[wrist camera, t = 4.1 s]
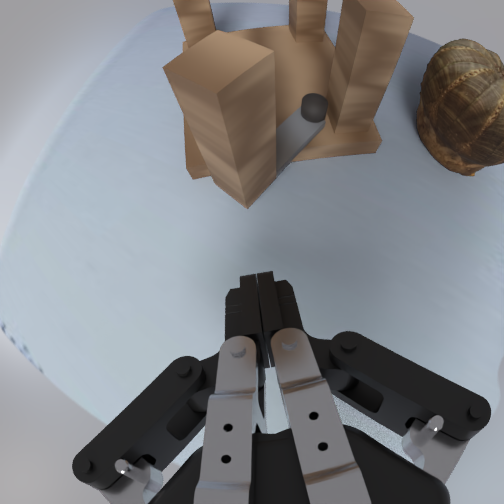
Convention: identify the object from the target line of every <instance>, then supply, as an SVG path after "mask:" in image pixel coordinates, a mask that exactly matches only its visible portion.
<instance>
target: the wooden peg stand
mask: <svg viewBox="0 0 504 504" xmlns="http://www.w3.org/2000/svg"><path fill="white" fill-rule="evenodd" d="M173 2H174V5H175V8H176V11H177V14H178V17H179V20H180V24H181V27H182V30H183V33H184V36H185V39H186V41H185V42H183V52H184V51H186V50H187V49H189V48H190V47H192V46H193V45H194V44H196V43H197V42H199V41H201V40H202V39H204V38H205V37H207V36H208V35H210V34H212V33H213V32H215V31H216V27H215V23H214V18H213V14H212V9H211V5H210V1H209V0H173ZM326 10H327V0H289V25H285V26H273V27H263V28H254V29H246V30H239V31H233V32H227V33H229V34H232V35H235V36H237V37H240V38H243V39H246V40H248V41H251V42H254V43H256V44H259V45H261V46H264V47H266V48H268V49H271V50H273V51H274V59H275V100H276V129H277V128H278V127H279V126H280V125H281V124H282V123H283V122H284V121H285V120H286V119H287V118H288V117H289V116H291V115H292V114H293V113H294V112H295V111H296V110H297V109H298V108H299V107H300V106H301V104H302V98H303V97H304V96H305V95H306V94H309V93H317V94H320V95H322V96H324V97H325V98H326V99H327V101H328V108H327V113H326V117H325V121H326V123H325V127H324V128H323V129H322V130H321V131H320V132H319V133H318V134H317V135H316V136H315V137H314V138H313V139H312V140H311V141H310V142H309V143H308V145H307V146H306V147H305V148H304V149H303V150H302V151H301V152H300V153H299V154H298V155H297V156H296V157H295V158H294V159H293V160H292V161H291V162H295V161H302V160H310V159H318V158H326V157H335V156H345V155H356V154H367V153H376V151H377V149H378V147H379V145H380V144H381V142H382V139H381V137H380V135H379V132H378V130H377V128H376V125H375V123H374V121H373V119H374V116H375V114H376V112H377V110H378V107H379V105H380V103H381V100H382V98H383V96H384V93H385V91H386V89H387V86H388V84H389V81H390V79H391V77H392V74H393V72H394V69H395V67H396V64H397V62H398V59H399V57H400V54H401V52H402V49H403V46H404V44H405V41H406V38H407V36H408V33H409V30H410V28H411V25H412V22H413V19H414V17H413V16H412V15H411V14H410V13H409V12H408V11H407V10H406V9H405V8H404V7H403V6H402V5H401V4H400V3H399V2H397V1H396V0H343V3H342V9H341V16H340V22H339V28H338V35H337V40H336V46H335V47H334V45H333V44H332V42H331V40H330V39H329V37H328V36H327V34H326V32H325V31H324V27H325V19H326ZM184 136H185V155H186V169H187V170H188V172H189V174H190V175H191V177H192V179H198V178H202V177H207V176H211V174H210V172H209V170H208V167H207V165H206V163H205V161H204V159H203V156H202V154H201V152H200V150H199V147H198V145H197V143H196V141H195V139H194V136H193V134H192V132H191V130H190V127H189V125H188V123H187V121H186V119H185V116H184Z"/></svg>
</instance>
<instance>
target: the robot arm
mask: <svg viewBox="0 0 504 504" xmlns="http://www.w3.org/2000/svg"><path fill="white" fill-rule="evenodd" d="M257 280H258V283H257ZM225 306H226V308H225V314H226V315H225V342H224V343H223V344H222V346H221V348H220V351H219V352H218V353H217V354H215V355H214V356H211V357H209V358H207V359H204V360H201V361H199V360H198V359H196V358H194V357H191V356H184V357H180V358H178V359H176V360H174V361H173V362H172V363H171V364H170V365H169V366H168V367H167V368H166V369H165V370H164V371H163V372H162V373H161V374H160V375H159V376H158V377H157V378H156V379H155V380H154V381H153V382H152V383H151V384H150V385H149V386H148V387H147V388H146V389H145V390H144V391H143V392H142V393H141V394H140V395H138V396H137V397H136V398H135V399H134V400H133V401H132V402H131V403H130V404H129V405H128V406H127V407H126V408H125V409H124V410H123V411H122V412H121V413H120V414H119V415H118V416H117V417H116V418H115V419H114V420H113V421H112V422H111V423H110V424H108V425H107V426H106V427H105V428H104V429H103V430H102V431H101V432H100V433H99V434H98V435H97V436H96V437H95V438H94V439H93V440H92V441H91V442H90V443H89V444H87V445H86V446H85V447H84V448H83V449H82V450H81V451H80V452H79V453H78V454H77V455H76V456H75V458H74V460H73V464H72V469H73V473H74V475H75V476H76V478H77V479H78V480H80V481H81V482H83V483H86V484H88V485H90V486H92V487H93V488H95V489H97V490H99V491H100V492H101V493H102V494H103V496H104V497H105V498H106V499H107V500H108V501H109V502H110V504H450V495H449V492H448V489H447V487H446V486H445V483H446V481H447V480H448V478H449V476H450V475H451V473H452V471H453V470H454V468H455V466H456V464H457V463H458V461H459V459H460V457H461V455H462V454H463V452H464V450H465V448H466V446H467V444H468V442H469V440H470V439H471V438H472V437H473V436H475V435H476V434H477V433H478V432H479V431H480V430H482V428H484V427H485V426H486V425H487V424H488V422H489V420H490V417H491V408H490V405H489V403H488V401H487V400H486V399H485V398H484V397H482V396H480V395H478V394H476V393H474V392H472V391H470V390H468V389H466V388H464V387H462V386H460V385H458V384H456V383H454V382H452V381H450V380H448V379H446V378H444V377H442V376H440V375H438V374H436V373H434V372H432V371H430V370H428V369H426V368H424V367H422V366H420V365H418V364H416V363H414V362H412V361H410V360H408V359H406V358H404V357H402V356H400V355H399V354H397V353H395V352H393V351H391V350H389V349H387V348H385V347H383V346H381V345H379V344H377V343H376V342H374V341H372V340H370V339H368V338H366V337H364V336H362V335H360V334H358V333H356V332H351V331H346V332H341V333H339V334H337V335H336V336H334V337H333V339H332V340H324V339H317V338H314V337H311V336H310V335H308V334H307V333H306V332H305V330H304V328H303V325H302V321H301V318H300V314H299V310H298V306H297V303H296V298H295V295H294V291H293V287H292V286H291V285H290V284H289V283H288V282H287V281H286V280H282V281H276V282H275V281H274V276H273V271H269V272H263V273H257V278H256V274H252V275H246V276H240V288H235V289H230V291H229V292H228V294H227V296H226V302H225ZM268 354H269V357H268ZM269 358H270V363H271V367H275V368H276V373H277V379H278V384H279V388H280V392H281V396H282V400H283V405H284V409H285V413H286V417H287V422H288V426H289V429H286V430H284V431H281V432H279V433H276V434H268V431H267V424H266V383H265V380H266V377H265V368H270V365H269ZM331 393H332V394H333V395H335V396H336V397H338V398H339V399H341V400H343V401H344V402H346V403H347V404H349V405H350V406H352V407H354V408H355V409H357V410H358V411H360V412H362V413H363V414H365V415H366V416H368V417H370V418H371V419H373V420H375V421H376V422H378V423H380V424H381V425H383V426H385V427H386V428H388V429H390V430H392V431H393V432H395V433H397V434H398V435H400V436H402V437H403V438H402V449H403V451H404V452H405V454H407V455H408V456H409V457H410V458H411V459H412V460H413V462H414V464H412V463H411V462H409V461H407V460H406V459H404V458H403V457H401V456H399V455H398V454H396V453H395V452H393V451H391V450H390V449H388V448H387V447H385V446H384V445H382V444H381V443H379V442H378V441H376V440H374V439H373V438H371V437H370V436H369V435H367V434H366V433H364V432H362V431H361V430H359V429H357V428H354V427H351V426H348V425H344V424H342V422H341V419H340V416H339V413H338V410H337V408H336V405H335V402H334V399H333V396H332V394H331ZM204 426H205V433H204V442H203V446H202V447H200V448H199V449H197V450H196V451H195V452H194V453H193V454H192V455H191V456H190V457H189V458H188V459H187V461H186V462H185V463H184V464H183V465H182V466H181V467H180V469H179V470H178V471H177V472H176V473H175V474H174V475H173V477H172V478H171V479H170V480H169V481H168V482H167V483H166V484H165V486H163V488H162V489H161V487H162V485H163V475H162V471H163V470H164V469H165V468H166V467H167V466H168V465H169V464H170V463H171V462H172V461H173V460H174V459H175V457H176V456H177V455H178V454H179V453H180V452H181V451H182V450H183V449H184V448H185V447H186V446H187V445H188V444H189V442H190V441H191V440H192V439H193V438H194V437H195V436H196V435H197V434H198V433H199V431H200V430H201V429H202V428H203V427H204ZM160 489H161V490H160ZM159 490H160V491H159ZM158 491H159V492H158Z"/></svg>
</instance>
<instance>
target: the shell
mask: <svg viewBox="0 0 504 504" xmlns="http://www.w3.org/2000/svg"><path fill="white" fill-rule="evenodd" d="M417 129H418V132H419V136H420V139H421V141H422V142H423V144H424V145H425V146H426V148H427V149H428V151H429V152H430V153H431V155H432V156H433V158H435V159H436V160H437V161H438V162H439V163H440V164H442V165H443V166H444V167H446V168H447V169H448V170H450V171H453V172H456V173H460V174H461V175H465V176H474V175H475V172H476V171H479V170H481V169H482V168H484V167H485V166H493V165H498V164H502V163H504V65H503V63H502V62H501V60H500V58H499V56H498V55H497V54H496V53H494V52H492V51H490V50H487V49H485V48H484V47H483V46H482V45H480V44H479V43H477V42H475V41H472V40H468V39H459V40H454V41H451V42H449V43H447V44H445V45H444V46H442V47H440V49H439V50H438V51H437V53H435V54H434V56H433V57H432V58H431V61H430V62H429V63H428V64H427V70H426V72H425V73H424V77H423V81H422V83H421V92H420V103H419V106H418V109H417Z"/></svg>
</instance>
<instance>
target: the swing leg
mask: <svg viewBox="0 0 504 504" xmlns="http://www.w3.org/2000/svg"><path fill="white" fill-rule="evenodd" d="M163 69H164V72H165V74H166V76H167V78H168V81H169V83H170V85H171V87H172V90H173V92H174V94H175V96H176V99H177V101H178V103H179V105H180V107H181V110H182V112H183V114H184V116H185V119H186V121H187V123H188V125H189V127H190V130H191V132H192V134H193V136H194V139H195V141H196V143H197V145H198V147H199V150H200V152H201V154H202V156H203V159H204V161H205V163H206V165H207V167H208V170H209V172H210V174H211V176H212V178H213V181H214V183H215V184H216V185H217V186H218V187H219V188H221V189H222V190H223V191H225V192H226V193H227V194H228V195H230V196H231V197H232V198H234V199H235V200H236V201H237V202H239V203H240V204H241V205H243V206H244V207H245V208H246V209H248V208H249V207H250V206H251V205H252V204H253V203H254V202H255V200H256V199H257V198H258V197H259V196H260V195H261V194H262V193H263V192H264V191H265V190H266V189H267V188H268V186H269V185H270V184H271V183H272V182H273V181H274V180H275V179H276V177H277V176H278V175H279V174H280V173H281V172H282V171H283V170H284V169H285V168H286V166H287V165H288V164H289V163H290V162H291V161H292V160H293V159H294V158H295V157H296V156H297V155H298V154H299V153H300V152H301V151H302V150H303V149H304V148H305V147H306V146H307V145H308V143H309V142H310V141H311V140H312V139H313V138H314V137H315V136H316V135H317V134H318V133H319V132H320V131H321V130H322V129H323V128H324V127H325V123H326V121H325V117H326V113H327V108H328V101H327V99H326V98H325V97H324V96H322V95H320V94H317V93H309V94H306V95H305V96H304V97H303V98H302V104H301V106H300V107H299V108H298V109H297V110H296V111H295V112H294V113H293V114H292V115H291V116H289V117H288V118H287V119H286V120H285V121H284V122H283V123H282V124H281V125H280V126H279V127H278V128H277V129H276V100H275V59H274V51H273V50H271V49H268V48H266V47H264V46H261V45H259V44H256V43H254V42H251V41H248V40H246V39H243V38H240V37H237V36H235V35H232V34H229V33H226V32H223V31H220V30H216V31H215V32H213V33H212V34H210V35H208V36H207V37H205V38H204V39H202V40H201V41H199V42H197V43H196V44H194V45H193V46H192V47H190V48H189V49H187V50H186V51H184V52H183V53H181V54H180V55H179V56H177V57H176V58H174V59H173V60H172V61H170V62H169V63H168V64H166V65H165V66H164V67H163Z"/></svg>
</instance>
